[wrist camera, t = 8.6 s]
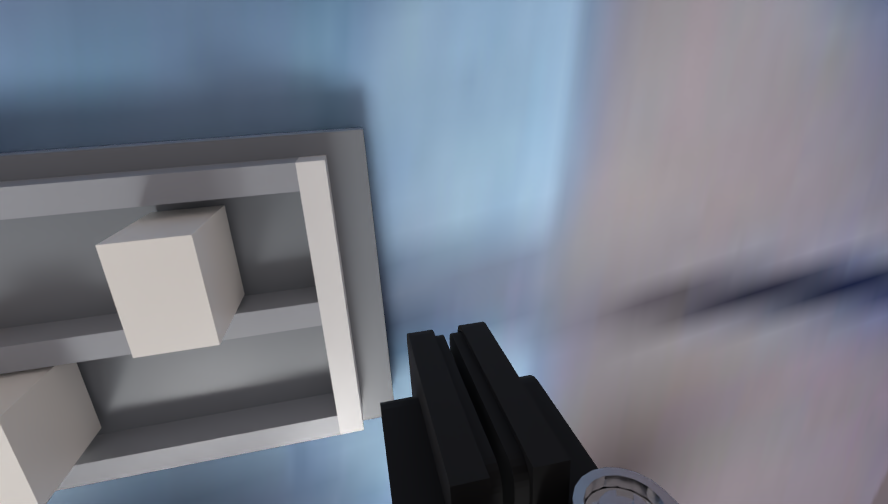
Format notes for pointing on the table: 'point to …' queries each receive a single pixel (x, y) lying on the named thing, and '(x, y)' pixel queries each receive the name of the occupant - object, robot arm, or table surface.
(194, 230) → the tab
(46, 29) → the table surface
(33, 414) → the tab
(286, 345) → the switch board
